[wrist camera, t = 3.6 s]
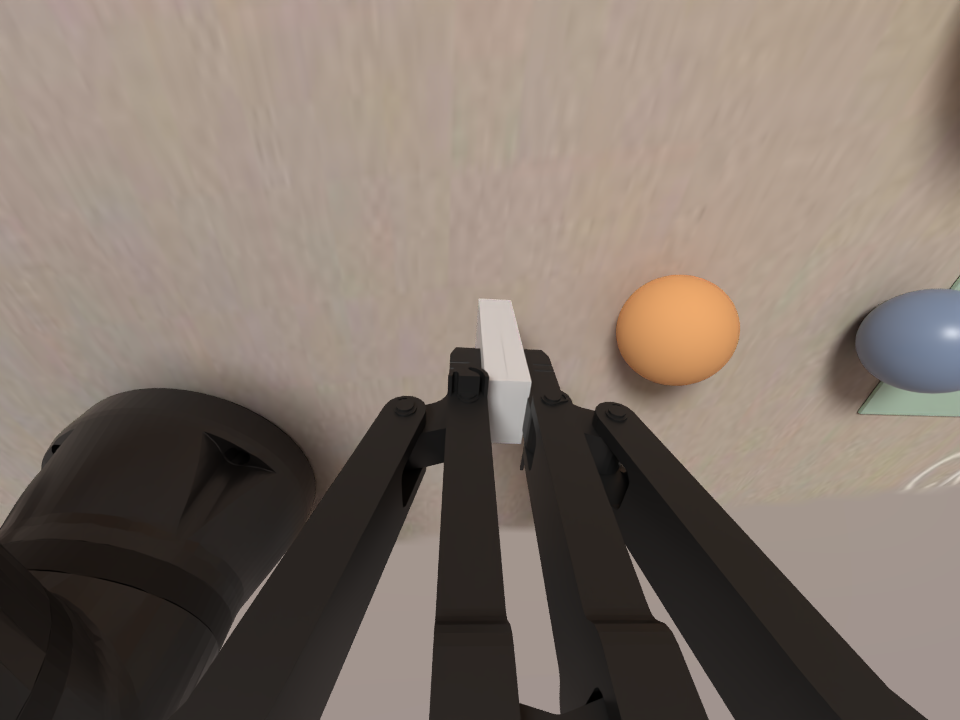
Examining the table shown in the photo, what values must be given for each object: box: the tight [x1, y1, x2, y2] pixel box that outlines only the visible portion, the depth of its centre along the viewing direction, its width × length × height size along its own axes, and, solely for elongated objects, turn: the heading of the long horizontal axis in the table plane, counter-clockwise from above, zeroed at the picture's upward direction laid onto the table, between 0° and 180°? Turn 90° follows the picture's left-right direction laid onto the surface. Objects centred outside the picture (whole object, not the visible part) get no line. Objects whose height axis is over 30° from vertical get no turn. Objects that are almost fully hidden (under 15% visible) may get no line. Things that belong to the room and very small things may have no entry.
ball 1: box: [616, 275, 740, 386], centre depth 19 cm, size 6×6×6 cm
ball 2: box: [855, 289, 960, 394], centre depth 21 cm, size 6×6×6 cm
